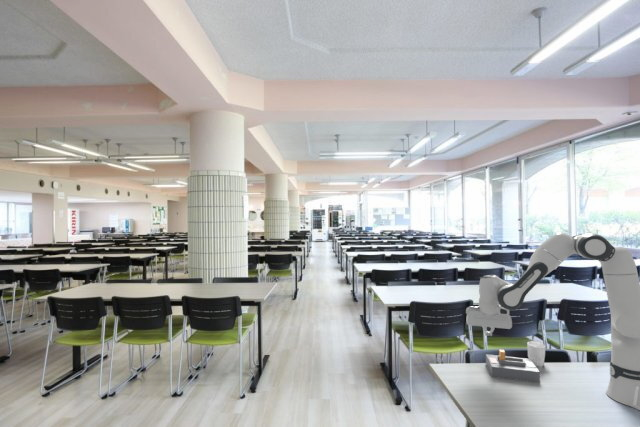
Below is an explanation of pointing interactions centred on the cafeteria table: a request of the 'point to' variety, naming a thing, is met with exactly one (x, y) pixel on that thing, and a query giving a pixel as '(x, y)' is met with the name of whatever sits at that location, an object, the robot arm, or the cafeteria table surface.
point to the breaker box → (513, 368)
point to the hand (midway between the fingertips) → (488, 335)
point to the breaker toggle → (501, 354)
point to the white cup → (536, 353)
